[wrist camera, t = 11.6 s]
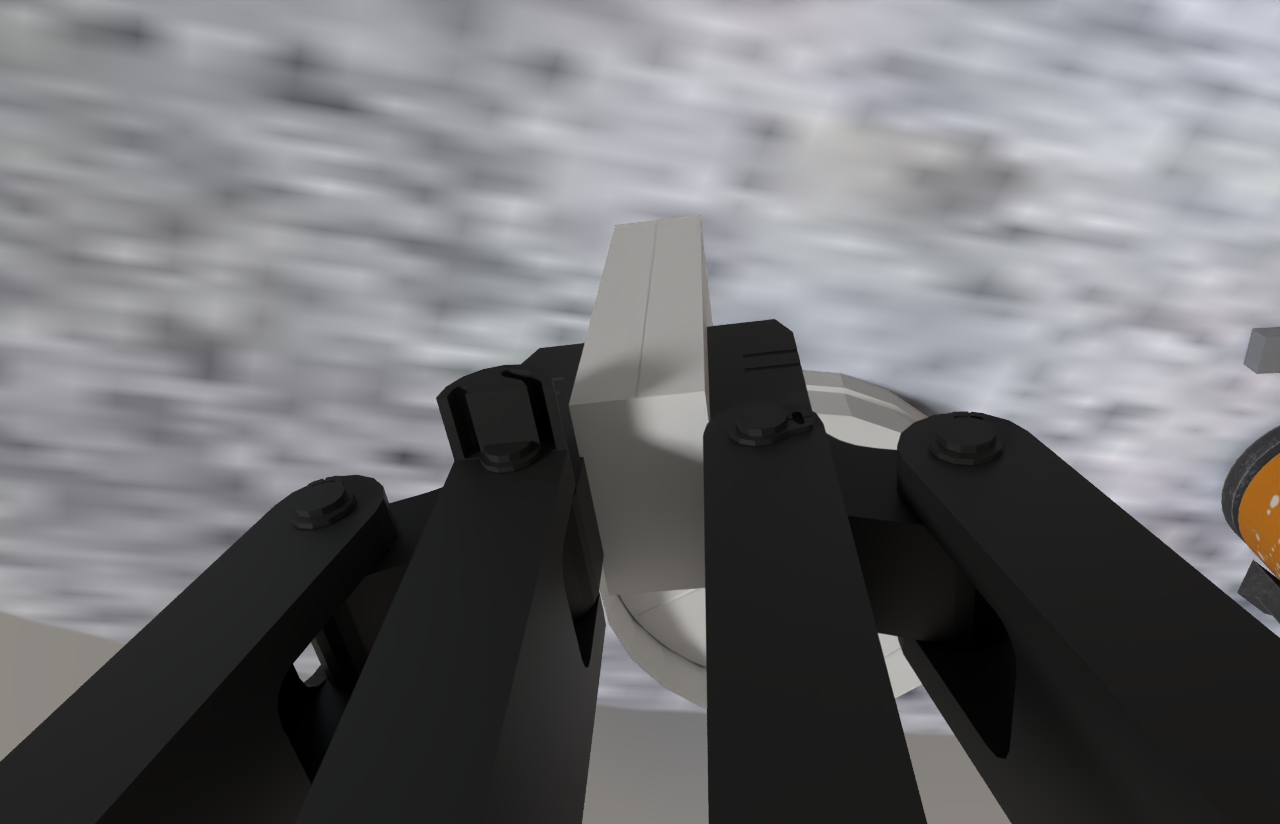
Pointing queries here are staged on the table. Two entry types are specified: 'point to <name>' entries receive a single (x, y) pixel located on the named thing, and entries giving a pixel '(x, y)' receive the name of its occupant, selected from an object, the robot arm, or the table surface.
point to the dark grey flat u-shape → (1264, 351)
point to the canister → (1257, 518)
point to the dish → (676, 620)
